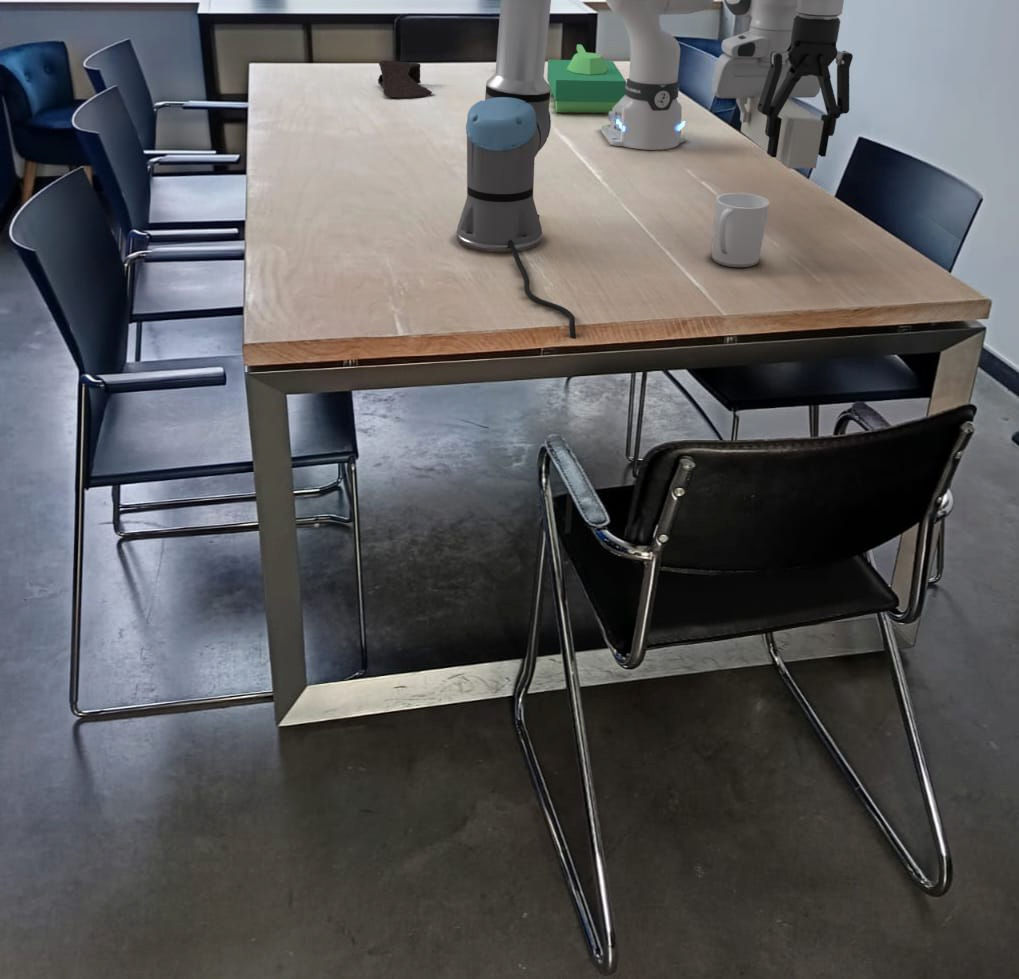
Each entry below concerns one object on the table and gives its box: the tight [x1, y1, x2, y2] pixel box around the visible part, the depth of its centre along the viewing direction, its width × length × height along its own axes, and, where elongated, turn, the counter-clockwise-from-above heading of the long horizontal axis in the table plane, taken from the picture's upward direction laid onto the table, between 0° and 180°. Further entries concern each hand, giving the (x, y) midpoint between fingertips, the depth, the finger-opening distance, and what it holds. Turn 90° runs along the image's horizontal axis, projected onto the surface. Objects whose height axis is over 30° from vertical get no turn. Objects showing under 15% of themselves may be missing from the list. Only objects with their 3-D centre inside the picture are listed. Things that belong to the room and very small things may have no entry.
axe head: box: [377, 59, 433, 99], centre depth 299 cm, size 18×8×15 cm
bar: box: [740, 95, 824, 170], centre depth 199 cm, size 26×5×8 cm, turn 8°
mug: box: [711, 192, 770, 268], centre depth 186 cm, size 11×9×10 cm
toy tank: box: [546, 44, 627, 114], centre depth 291 cm, size 18×12×35 cm
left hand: (796, 154), depth 192 cm, fingers open, 8 cm apart
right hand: (761, 121), depth 207 cm, fingers closed on bar, 5 cm apart
